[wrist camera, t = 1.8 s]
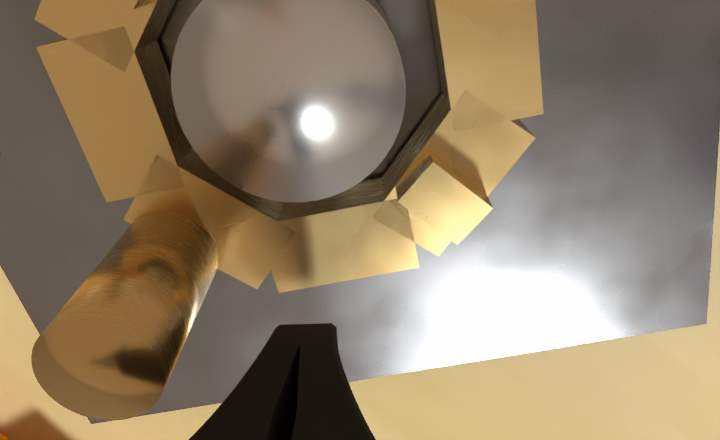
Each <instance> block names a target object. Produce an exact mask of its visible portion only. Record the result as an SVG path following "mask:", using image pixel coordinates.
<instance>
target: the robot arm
mask: <svg viewBox="0 0 720 440" xmlns="http://www.w3.org/2000/svg"><path fill="white" fill-rule="evenodd" d="M189 440H376V439H375V438H374V436H373V434H372V432H371V431H370V429H369V427H368V425H367V423H366V421H365V419H364V417H363V415H362V413H361V411H360V409H359V407H358V404H357V402H356V400H355V398H354V395H353V393H352V391H351V388H350V385H349V383H348V380H347V377H346V374H345V372H344V369H343V365H342V362H341V358H340V354H339V350H338V339H337V327H336V326H334V325H333V324H332V323H320V324H285V325H278V326H277V327H276V328H275V329H274V331H273V333H272V335H271V336H270V338H269V339H268V341H267V343H266V344H265V346H264V347H263V349H262V350H261V352H260V353H259V355H258V356H257V358H256V359H255V361H254V362H253V364H252V365H251V366H250V368H249V369H248V371H247V372H246V373H245V375H244V376H243V377H242V379H241V380H240V381H239V383H238V384H237V385H236V387H235V388H234V389H233V391H232V392H231V393H230V394H229V395H228V397H227V398H226V399H225V400H224V401H223V403H222V404H221V405H220V406H219V407H218V409H217V410H216V411H215V412H214V413H213V415H212V416H211V417H210V418H209V419H208V420H207V421H206V422H205V423H204V425H203V426H202V427H201V428H200V429H199V430H198V431H197V432H196V433H195V434H194V435H193V436H192V437H191V438H190V439H189Z"/></svg>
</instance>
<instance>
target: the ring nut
mask: <svg viewBox="0 0 720 440" xmlns="http://www.w3.org/2000/svg"><path fill="white" fill-rule="evenodd" d="M175 1H176V0H41V2H40V5H39V8H38V10H37V13H36V16H35V19H34V20H36V21H37V22H39V23H41V24H43V25H44V26H46V27H48V28H49V29H51V30H53V31H55V32H56V33H58V34H60V35H61V36H63V37H65V38H62V39H59V40H56V41H53V42H50V43H47V44H44V45H41V46H38V47H36V48H37V50H38V52H39V55H40V57H41V59H42V61H43V64H44V66H45V68H46V70H47V72H48V75H49V77H50V79H51V81H52V83H53V86H54V88H55V90H56V92H57V94H58V97H59V99H60V101H61V103H62V106H63V108H64V110H65V112H66V114H67V117H68V119H69V121H70V123H71V125H72V128H73V130H74V132H75V134H76V136H77V139H78V141H79V143H80V145H81V148H82V150H83V152H84V154H85V156H86V159H87V161H88V163H89V165H90V167H91V170H92V172H93V174H94V176H95V178H96V181H97V183H98V185H99V187H100V189H101V192H102V194H103V196H104V198H105V201H106V203H107V202H111V201H116V200H121V199H126V198H131V197H135V198H134V200H133V202H132V204H131V206H130V208H129V210H128V212H127V213H126V215H125V217H124V219H123V220H125V221H126V222H128V223H130V224H131V225H130V226H129V227H128V228H127V230H126V231H125V232H124V233H123V235H122V236H121V237H120V238H119V239H118V241H117V242H116V243H115V244H114V246H113V247H112V248H111V249H110V250H109V252H108V253H107V254H106V255H105V257H104V258H103V259H102V260H101V262H100V263H99V264H98V265H97V266H96V268H95V269H94V270H93V271H92V273H91V274H90V275H89V276H88V277H87V279H86V280H85V281H84V282H83V284H82V285H81V286H80V287H79V288H78V290H77V291H76V292H75V293H74V295H73V296H72V297H71V298H70V299H69V301H68V302H67V303H66V304H65V306H64V307H63V308H62V309H61V310H60V312H59V313H58V314H57V315H56V317H55V318H54V319H53V320H52V321H51V323H50V324H49V325H48V326H47V328H46V329H45V330H44V331H43V333H42V334H41V335H40V336H39V337H38V339H37V341H36V342H35V344H34V347H33V350H32V367H33V371H34V374H35V376H36V378H37V380H38V382H39V384H40V385H41V387H42V388H43V389H44V390H45V392H46V393H47V394H48V395H49V396H50V397H51V398H53V399H54V400H55V401H56V402H58V403H59V404H60V405H62V406H64V407H65V408H67V409H69V410H71V411H73V412H75V413H78V414H80V415H83V416H86V417H90V418H95V419H100V420H123V419H128V418H132V417H135V416H138V415H140V414H142V413H144V412H146V411H148V410H149V409H150V408H152V407H153V406H154V405H155V404H156V403H157V401H158V400H159V399H160V397H161V395H162V393H163V391H164V388H165V386H166V384H167V382H168V379H169V377H170V375H171V373H172V370H173V368H174V366H175V364H176V361H177V359H178V357H179V355H180V352H181V350H182V348H183V345H184V343H185V341H186V339H187V336H188V334H189V332H190V330H191V327H192V325H193V323H194V321H195V318H196V316H197V314H198V312H199V309H200V307H201V305H202V303H203V300H204V298H205V296H206V294H207V291H208V289H209V287H210V284H211V282H212V280H213V278H214V275H215V273H216V270H217V269H219V270H221V271H222V272H224V273H226V274H228V275H230V276H232V277H234V278H236V279H238V280H240V281H242V282H244V283H246V284H247V285H249V286H251V287H253V288H255V289H258V288H259V286H260V285H261V283H262V282H263V280H264V279H265V277H266V276H267V274H268V273H269V271H270V270H271V271H272V274H273V277H274V280H275V283H276V286H277V289H278V292H279V293H281V292H287V291H292V290H298V289H303V288H309V287H315V286H320V285H326V284H331V283H337V282H342V281H348V280H353V279H359V278H364V277H370V276H376V275H381V274H387V273H392V272H398V271H403V270H409V269H414V268H420V267H419V261H418V256H417V250H416V244H418V245H420V246H421V247H423V248H425V249H426V250H428V251H430V252H431V253H433V254H435V255H437V256H438V257H439V256H440V254H441V253H442V252H443V251H444V249H445V248H446V247H447V246H448V245H449V243H450V242H451V241H452V242H454V243H455V244H457V245H458V244H459V243H460V242H461V241H462V240H463V239H464V238H465V237H466V236H467V235H468V234H469V233H470V232H471V231H472V230H473V229H474V228H475V227H476V226H477V225H478V224H479V223H480V222H481V220H482V219H483V218H484V217H485V216H486V215H487V214H488V213H489V212H490V211H491V210H492V209H493V206H492V204H491V202H490V200H489V198H488V196H489V194H490V193H491V192H492V191H493V189H494V188H495V187H496V186H497V185H498V183H499V182H500V181H501V180H502V178H503V177H504V176H505V175H506V173H507V172H508V171H509V170H510V169H511V167H512V166H513V165H514V164H515V162H516V161H517V160H518V159H519V158H520V156H521V155H522V154H523V153H524V151H525V150H526V149H527V148H528V147H529V145H530V144H531V143H532V142H533V140H534V139H535V136H534V135H533V134H532V133H531V132H530V131H529V130H528V128H527V127H526V126H525V125H524V124H523V123H522V122H521V120H520V119H521V118H526V117H531V116H536V115H541V114H544V112H543V99H542V85H541V71H540V58H539V44H538V31H537V17H536V3H535V0H428V1H429V8H430V15H431V21H432V28H433V34H434V41H435V48H436V54H437V61H438V67H439V74H440V81H441V87H442V95H441V96H440V97H439V99H438V100H437V102H436V103H435V104H434V106H433V107H432V109H431V110H430V111H429V113H428V114H427V116H426V117H425V118H424V120H423V121H422V123H421V124H420V125H419V127H418V128H417V130H416V131H415V132H414V134H413V135H412V137H411V138H410V139H409V141H408V142H407V144H406V145H405V146H404V148H403V149H402V151H401V152H400V153H399V155H398V156H397V158H396V159H395V160H394V162H393V163H392V165H391V166H390V167H389V169H388V170H387V172H386V173H385V174H384V176H383V177H382V178H378V179H372V180H367V181H362V182H359V183H358V184H357V185H355V186H353V187H351V188H350V189H348V190H346V191H344V192H342V193H339V194H337V195H334V196H332V197H328V198H325V199H321V200H317V201H309V202H281V201H274V200H269V199H265V198H261V197H258V196H255V195H252V194H249V193H247V192H245V191H243V190H241V189H239V188H237V187H235V186H233V185H232V184H230V183H229V182H227V181H225V180H224V179H222V178H221V177H220V176H219V175H218V174H216V173H215V172H214V171H213V170H211V169H210V168H209V166H208V165H207V164H206V163H205V162H204V161H203V160H202V159H201V158H200V157H199V155H198V154H197V153H196V152H195V150H194V149H193V148H192V146H191V144H190V143H189V141H188V139H187V138H186V136H185V134H184V132H183V130H182V128H181V125H180V123H179V121H178V118H177V114H176V111H175V108H174V104H173V98H172V91H171V78H170V75H169V72H168V69H167V67H166V64H165V61H164V58H163V55H162V53H161V50H160V47H159V44H158V42H157V40H158V37H159V35H160V33H161V31H162V29H163V27H164V25H165V22H166V20H167V18H168V16H169V14H170V12H171V10H172V8H173V5H174V3H175ZM415 243H416V244H415Z"/></svg>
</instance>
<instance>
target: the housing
mask: <svg viewBox="0 0 720 440" xmlns="http://www.w3.org/2000/svg"><path fill="white" fill-rule="evenodd" d="M40 2H41V0H0V266H1V268H2V269H3V271H4V273H5V275H6V276H7V278H8V280H9V282H10V283H11V285H12V287H13V288H14V290H15V292H16V294H17V295H18V297H19V299H20V301H21V302H22V304H23V306H24V308H25V309H26V311H27V313H28V315H29V316H30V318H31V320H32V322H33V323H34V325H35V327H36V329H37V330H38V332H39V334H40V335H41V334H42V333H43V331H44V330H45V329H46V328H47V326H48V325H49V324H50V323H51V321H52V320H53V319H54V318H55V317H56V315H57V314H58V313H59V312H60V310H61V309H62V308H63V307H64V306H65V304H66V303H67V302H68V301H69V299H70V298H71V297H72V296H73V295H74V293H75V292H76V291H77V290H78V288H79V287H80V286H81V285H82V284H83V282H84V281H85V280H86V279H87V277H88V276H89V275H90V274H91V273H92V271H93V270H94V269H95V268H96V266H97V265H98V264H99V263H100V262H101V260H102V259H103V258H104V257H105V255H106V254H107V253H108V252H109V250H110V249H111V248H112V247H113V246H114V244H115V243H116V242H117V241H118V239H119V238H120V237H121V236H122V235H123V233H124V232H125V231H126V230H127V228H128V227H129V226H130V225H131V224H130V223H128V222H126V221H125V220H123V219H124V217H125V215H126V213H127V212H128V210H129V208H130V206H131V204H132V202H133V200H134V198H135V197H131V198H126V199H121V200H116V201H111V202H107V203H106V201H105V198H104V196H103V194H102V192H101V189H100V187H99V185H98V183H97V181H96V178H95V176H94V174H93V172H92V170H91V167H90V165H89V163H88V161H87V159H86V156H85V154H84V152H83V150H82V148H81V145H80V143H79V141H78V139H77V136H76V134H75V132H74V130H73V128H72V125H71V123H70V121H69V119H68V117H67V114H66V112H65V110H64V108H63V106H62V103H61V101H60V99H59V97H58V94H57V92H56V90H55V88H54V86H53V83H52V81H51V79H50V77H49V75H48V72H47V70H46V68H45V66H44V64H43V61H42V59H41V57H40V55H39V52H38V50H37V48H36V47H38V46H41V45H44V44H47V43H50V42H53V41H56V40H59V39H62V38H65V37H63V36H61V35H60V34H58V33H56V32H55V31H53V30H51V29H49V28H48V27H46V26H44V25H43V24H41V23H39V22H37V21H36V20H34V19H35V16H36V13H37V10H38V8H39V5H40ZM535 3H536V17H537V31H538V44H539V58H540V71H541V85H542V99H543V112H544V114H541V115H536V116H531V117H526V118H521V119H520V120H521V122H522V123H523V124H524V125H525V126H526V127H527V128H528V130H529V131H530V132H531V133H532V134H533V135H534V136H535V139H534V140H533V142H532V143H531V144H530V145H529V147H528V148H527V149H526V150H525V151H524V153H523V154H522V155H521V156H520V158H519V159H518V160H517V161H516V162H515V164H514V165H513V166H512V167H511V169H510V170H509V171H508V172H507V173H506V175H505V176H504V177H503V178H502V180H501V181H500V182H499V183H498V185H497V186H496V187H495V188H494V189H493V191H492V192H491V193H490V194H489V196H488V198H489V200H490V202H491V204H492V206H493V209H492V210H491V211H490V212H489V213H488V214H487V215H486V216H485V217H484V218H483V219H482V220H481V222H480V223H479V224H478V225H477V226H476V227H475V228H474V229H473V230H472V231H471V232H470V233H469V234H468V235H467V236H466V237H465V238H464V239H463V240H462V241H461V242H460V243H459V244H458V245H457V244H455V243H454V242H452V241H451V242H450V243H449V245H448V246H447V247H446V248H445V249H444V251H443V252H442V253H441V254H440V256H439V257H438V256H437V255H435V254H433V253H431V252H430V251H428V250H426V249H425V248H423V247H421V246H420V245H418V244H416V243H415V244H416V250H417V256H418V261H419V267H420V268H414V269H409V270H403V271H398V272H392V273H387V274H381V275H376V276H370V277H364V278H359V279H353V280H348V281H342V282H337V283H331V284H326V285H320V286H315V287H309V288H303V289H298V290H292V291H287V292H281V293H279V292H278V289H277V286H276V283H275V280H274V277H273V274H272V271H271V270H270V271H269V273H268V274H267V276H266V277H265V279H264V280H263V282H262V283H261V285H260V286H259V288H258V289H255V288H253V287H251V286H249V285H247V284H246V283H244V282H242V281H240V280H238V279H236V278H234V277H232V276H230V275H228V274H226V273H224V272H222V271H221V270H219V269H217V270H216V273H215V275H214V278H213V280H212V282H211V284H210V287H209V289H208V291H207V294H206V296H205V298H204V300H203V303H202V305H201V307H200V309H199V312H198V314H197V316H196V318H195V321H194V323H193V325H192V327H191V330H190V332H189V334H188V336H187V339H186V341H185V343H184V345H183V348H182V350H181V352H180V355H179V357H178V359H177V361H176V364H175V366H174V368H173V370H172V373H171V375H170V377H169V379H168V382H167V384H166V386H165V388H164V391H163V393H162V395H161V397H160V399H159V400H158V401H157V403H156V404H155V405H154V406H153V407H152V408H150V409H149V410H148V411H146V412H144V413H142V414H140V415H138V416H143V415H149V414H155V413H161V412H167V411H174V410H180V409H186V408H192V407H198V406H204V405H210V404H217V403H223V401H224V400H225V399H226V398H227V397H228V395H229V394H230V393H231V392H232V391H233V389H234V388H235V387H236V385H237V384H238V383H239V381H240V380H241V379H242V377H243V376H244V375H245V373H246V372H247V371H248V369H249V368H250V366H251V365H252V364H253V362H254V361H255V359H256V358H257V356H258V355H259V353H260V352H261V350H262V349H263V347H264V346H265V344H266V343H267V341H268V339H269V338H270V336H271V335H272V333H273V331H274V329H275V328H276V327H277V326H278V325H285V324H320V323H332V324H333V325H334V326H336V327H337V339H338V350H339V354H340V358H341V362H342V365H343V369H344V372H345V374H346V377H347V380H348V382H352V381H358V380H364V379H370V378H376V377H383V376H389V375H395V374H401V373H407V372H413V371H419V370H426V369H432V368H438V367H444V366H450V365H456V364H462V363H469V362H475V361H481V360H487V359H493V358H499V357H506V356H512V355H518V354H524V353H530V352H536V351H542V350H549V349H555V348H561V347H567V346H573V345H579V344H585V343H592V342H598V341H604V340H610V339H616V338H622V337H628V336H635V335H641V334H647V333H653V332H659V331H665V330H671V329H678V328H684V327H690V326H696V325H702V324H706V322H707V307H708V293H709V278H710V263H711V248H712V233H713V218H714V203H715V188H716V173H717V158H718V143H719V128H720V0H535ZM157 42H158V44H159V47H160V50H161V53H162V55H163V58H164V61H165V64H166V67H167V69H168V72H169V75H170V78H171V91H172V98H173V104H174V108H175V111H176V114H177V118H178V121H179V123H180V125H181V128H182V130H183V132H184V134H185V136H186V138H187V139H188V141H189V143H190V144H191V146H192V148H193V149H194V150H195V152H196V153H197V154H198V155H199V157H200V158H201V159H202V160H203V161H204V162H205V163H206V164H207V165H208V166H209V168H210V169H211V170H213V171H214V172H215V173H216V174H218V175H219V176H220V177H221V178H222V179H224V180H225V181H227V182H229V183H230V184H232V185H233V186H235V187H237V188H239V189H241V190H243V191H245V192H247V193H249V194H252V195H255V196H258V197H261V198H265V199H269V200H274V201H281V202H309V201H317V200H321V199H325V198H328V197H332V196H334V195H337V194H339V193H342V192H344V191H346V190H348V189H350V188H351V187H353V186H355V185H357V184H358V183H359V182H362V181H367V180H372V179H378V178H382V177H383V176H384V174H385V173H386V172H387V170H388V169H389V167H390V166H391V165H392V163H393V162H394V160H395V159H396V158H397V156H398V155H399V153H400V152H401V151H402V149H403V148H404V146H405V145H406V144H407V142H408V141H409V139H410V138H411V137H412V135H413V134H414V132H415V131H416V130H417V128H418V127H419V125H420V124H421V123H422V121H423V120H424V118H425V117H426V116H427V114H428V113H429V111H430V110H431V109H432V107H433V106H434V104H435V103H436V102H437V100H438V99H439V97H440V96H441V95H442V87H441V81H440V74H439V67H438V61H437V54H436V48H435V41H434V34H433V28H432V21H431V15H430V8H429V1H428V0H176V1H175V3H174V5H173V8H172V10H171V12H170V14H169V16H168V18H167V20H166V22H165V25H164V27H163V29H162V31H161V33H160V35H159V37H158V40H157ZM135 417H137V416H135ZM88 419H89V421H90V423H91V424H94V423H100V422H106V421H112V420H100V419H95V418H90V417H88Z"/></svg>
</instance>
